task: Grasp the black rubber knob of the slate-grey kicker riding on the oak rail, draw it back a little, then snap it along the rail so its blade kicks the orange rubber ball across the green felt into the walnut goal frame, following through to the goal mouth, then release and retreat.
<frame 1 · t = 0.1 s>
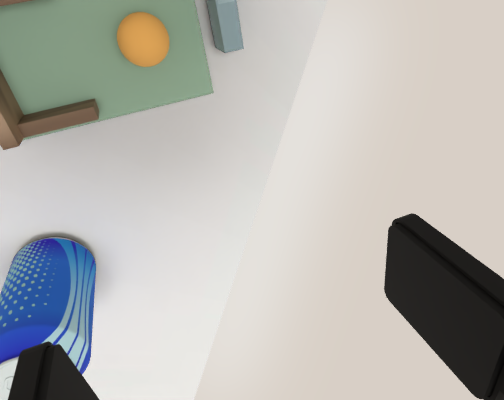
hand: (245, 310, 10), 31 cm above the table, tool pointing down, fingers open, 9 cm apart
goal: (33, 60, 32), resting on felt mat
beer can: (57, 260, 42), on the table
felt mat: (92, 47, 33), on the table
ball: (142, 37, 33), resting on felt mat
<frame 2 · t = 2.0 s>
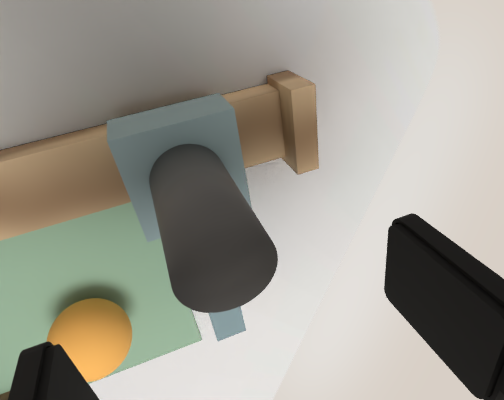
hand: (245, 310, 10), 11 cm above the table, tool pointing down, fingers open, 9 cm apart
kicker: (214, 269, 17), point 5 cm above the table, slide at 0.0 cm
felt mat: (14, 334, 21), on the table
rail: (73, 169, 18), on the table
ball: (92, 309, 22), resting on felt mat
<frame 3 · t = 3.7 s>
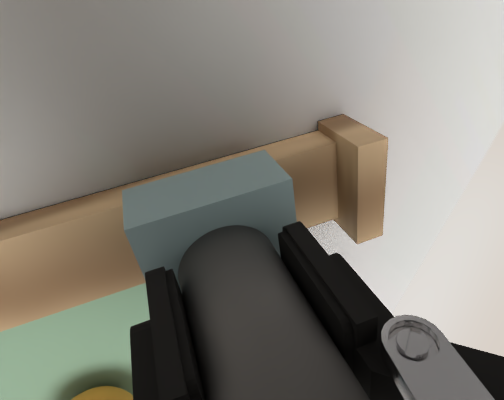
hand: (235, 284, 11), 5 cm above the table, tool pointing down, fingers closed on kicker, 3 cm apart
kicker: (258, 374, 13), point 5 cm above the table, slide at 0.0 cm, touching gripper
rail: (78, 241, 14), on the table
ball: (99, 395, 18), resting on felt mat
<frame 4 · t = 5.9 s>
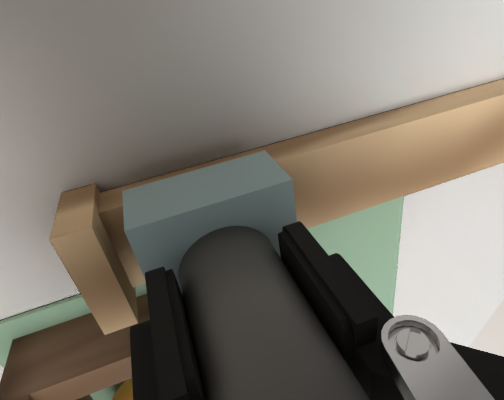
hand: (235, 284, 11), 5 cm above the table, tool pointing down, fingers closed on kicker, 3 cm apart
goal: (147, 377, 19), resting on felt mat
kicker: (258, 374, 13), point 5 cm above the table, slide at 12.0 cm, touching gripper
felt mat: (237, 339, 20), on the table
rail: (349, 159, 16), on the table
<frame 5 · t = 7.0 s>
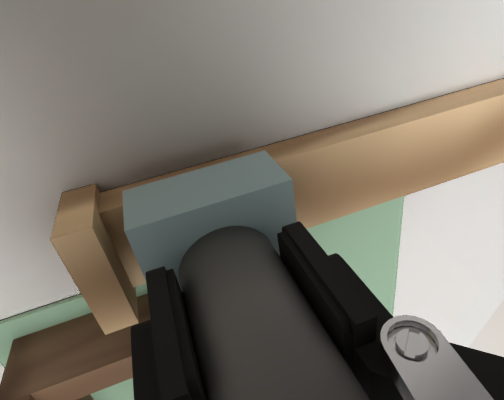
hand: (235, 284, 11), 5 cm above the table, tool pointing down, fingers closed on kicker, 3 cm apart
goal: (148, 377, 19), resting on felt mat
kicker: (258, 374, 13), point 5 cm above the table, slide at 12.0 cm, touching gripper
felt mat: (237, 339, 20), on the table
rail: (349, 159, 16), on the table
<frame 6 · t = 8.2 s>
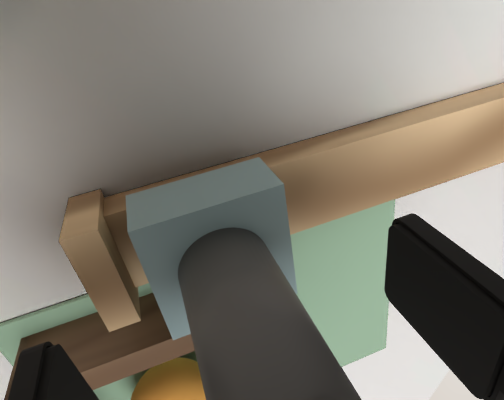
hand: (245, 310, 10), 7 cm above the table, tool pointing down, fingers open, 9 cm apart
goal: (149, 376, 19), resting on felt mat
kicker: (254, 369, 14), point 5 cm above the table, slide at 12.0 cm
felt mat: (236, 339, 21), on the table
rail: (341, 165, 17), on the table
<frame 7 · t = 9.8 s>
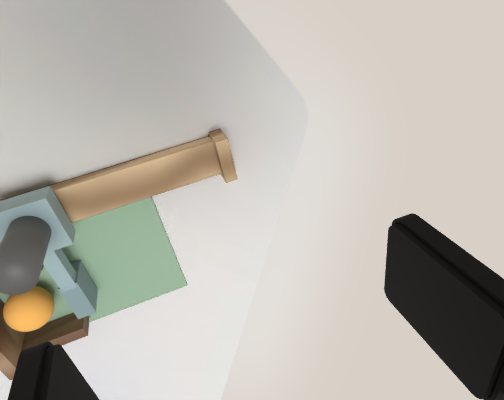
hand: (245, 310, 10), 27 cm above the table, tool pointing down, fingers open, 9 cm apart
goal: (32, 293, 38), resting on felt mat
kicker: (52, 276, 32), point 5 cm above the table, slide at 12.0 cm
felt mat: (80, 275, 39), on the table
rail: (112, 184, 35), on the table
ball: (10, 326, 35), point 4 cm above the table, tilted 138°, touching felt mat
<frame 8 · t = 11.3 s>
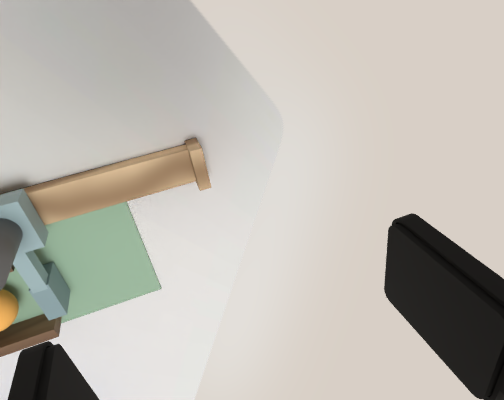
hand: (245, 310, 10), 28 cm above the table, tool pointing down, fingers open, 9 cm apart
goal: (4, 294, 38), resting on felt mat
kicker: (23, 278, 33), point 5 cm above the table, slide at 12.0 cm
felt mat: (53, 277, 39), on the table
rail: (87, 188, 36), on the table
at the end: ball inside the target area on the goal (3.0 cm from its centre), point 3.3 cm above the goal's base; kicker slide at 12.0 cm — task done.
